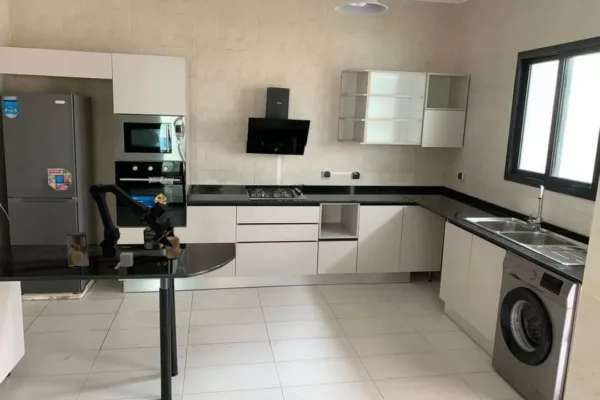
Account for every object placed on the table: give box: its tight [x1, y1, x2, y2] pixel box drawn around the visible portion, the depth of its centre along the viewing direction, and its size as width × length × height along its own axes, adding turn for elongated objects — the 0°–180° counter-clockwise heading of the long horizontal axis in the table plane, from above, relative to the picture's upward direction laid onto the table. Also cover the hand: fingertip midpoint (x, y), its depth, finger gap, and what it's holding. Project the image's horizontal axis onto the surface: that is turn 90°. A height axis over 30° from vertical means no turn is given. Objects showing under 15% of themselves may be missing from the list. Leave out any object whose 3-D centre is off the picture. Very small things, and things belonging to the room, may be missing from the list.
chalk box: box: [142, 226, 165, 250], centre depth 274 cm, size 9×9×15 cm
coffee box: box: [65, 232, 90, 268], centre depth 237 cm, size 9×6×16 cm
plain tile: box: [114, 262, 121, 270], centre depth 238 cm, size 10×10×1 cm
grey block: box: [119, 251, 134, 268], centre depth 238 cm, size 5×5×6 cm
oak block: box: [165, 235, 181, 259], centre depth 251 cm, size 6×6×10 cm
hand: (175, 244), depth 251 cm, fingers closed on oak block, 8 cm apart
